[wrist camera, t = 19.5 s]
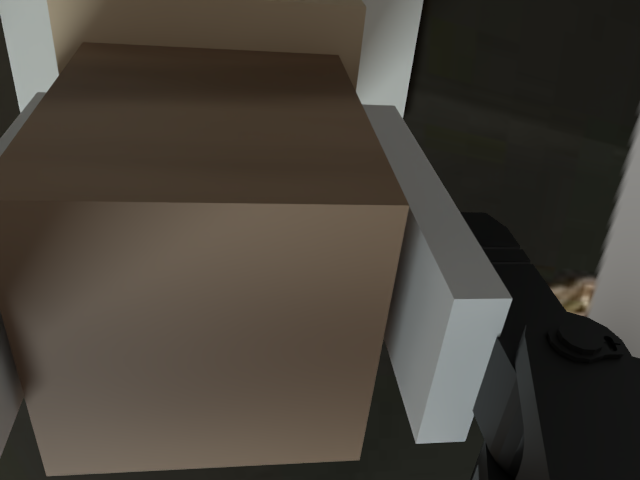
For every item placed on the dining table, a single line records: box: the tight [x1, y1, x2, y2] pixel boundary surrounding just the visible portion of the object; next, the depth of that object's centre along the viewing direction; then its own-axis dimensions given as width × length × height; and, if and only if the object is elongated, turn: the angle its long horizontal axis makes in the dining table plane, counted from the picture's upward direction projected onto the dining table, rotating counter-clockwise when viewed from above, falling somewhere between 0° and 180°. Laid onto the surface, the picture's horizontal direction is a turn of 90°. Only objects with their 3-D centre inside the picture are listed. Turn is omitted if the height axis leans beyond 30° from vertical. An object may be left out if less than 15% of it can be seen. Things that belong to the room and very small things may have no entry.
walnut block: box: [0, 42, 409, 476], centre depth 11 cm, size 5×5×6 cm
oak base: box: [47, 0, 366, 91], centre depth 15 cm, size 6×6×6 cm
